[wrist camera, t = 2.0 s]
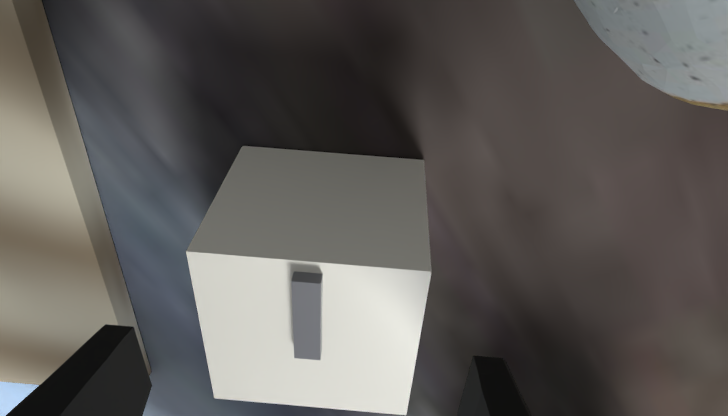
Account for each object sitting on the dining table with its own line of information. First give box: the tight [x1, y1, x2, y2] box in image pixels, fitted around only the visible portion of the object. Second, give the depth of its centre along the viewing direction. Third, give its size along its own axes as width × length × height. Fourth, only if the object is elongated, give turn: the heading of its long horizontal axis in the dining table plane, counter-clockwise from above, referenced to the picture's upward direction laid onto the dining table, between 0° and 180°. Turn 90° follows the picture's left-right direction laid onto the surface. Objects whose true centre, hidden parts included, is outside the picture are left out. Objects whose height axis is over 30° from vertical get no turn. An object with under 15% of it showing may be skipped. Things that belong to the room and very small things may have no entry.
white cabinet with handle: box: [186, 146, 431, 415], centre depth 14 cm, size 5×5×5 cm
